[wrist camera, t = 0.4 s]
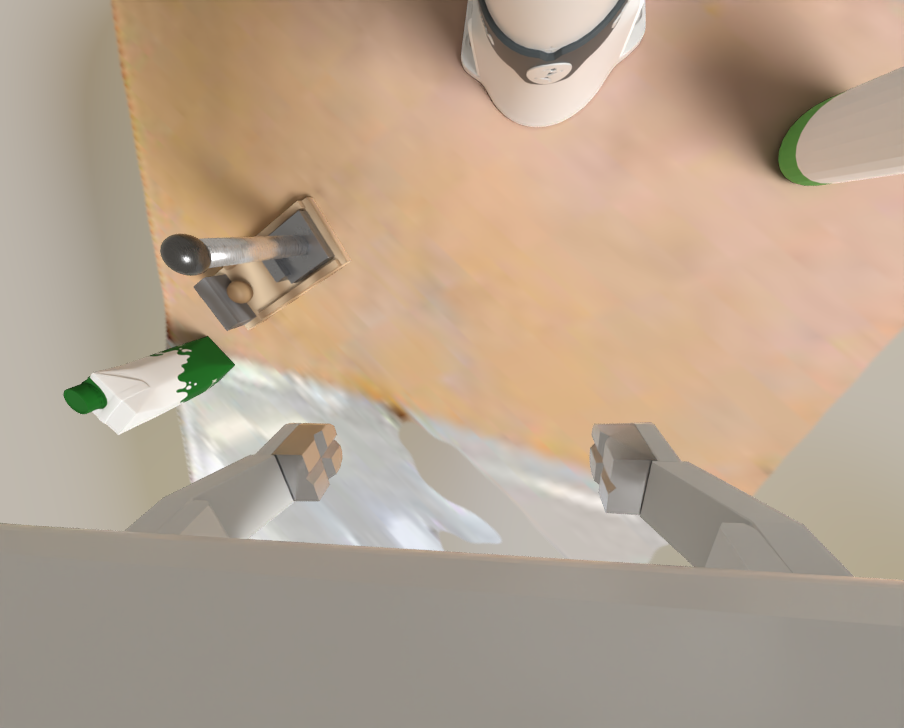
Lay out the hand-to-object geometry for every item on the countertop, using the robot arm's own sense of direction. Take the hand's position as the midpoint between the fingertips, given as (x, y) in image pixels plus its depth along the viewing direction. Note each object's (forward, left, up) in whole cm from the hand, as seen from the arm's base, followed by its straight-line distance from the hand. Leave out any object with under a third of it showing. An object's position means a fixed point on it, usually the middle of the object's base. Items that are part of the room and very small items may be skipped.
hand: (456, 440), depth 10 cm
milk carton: (+16, -57, -39) cm, 71 cm away
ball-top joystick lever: (-4, -31, -37) cm, 49 cm away
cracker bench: (-1, -37, -39) cm, 54 cm away
